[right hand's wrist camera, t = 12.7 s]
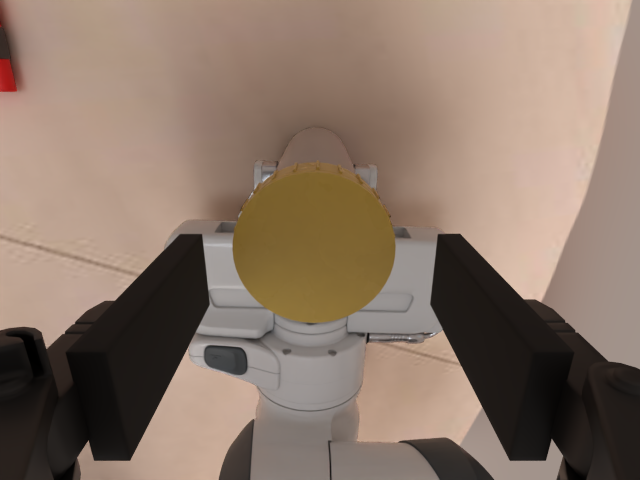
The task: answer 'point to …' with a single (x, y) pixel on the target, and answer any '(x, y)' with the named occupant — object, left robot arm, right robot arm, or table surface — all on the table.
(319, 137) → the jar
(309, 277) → the lid
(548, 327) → the right robot arm
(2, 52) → the tow hook
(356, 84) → the table surface
